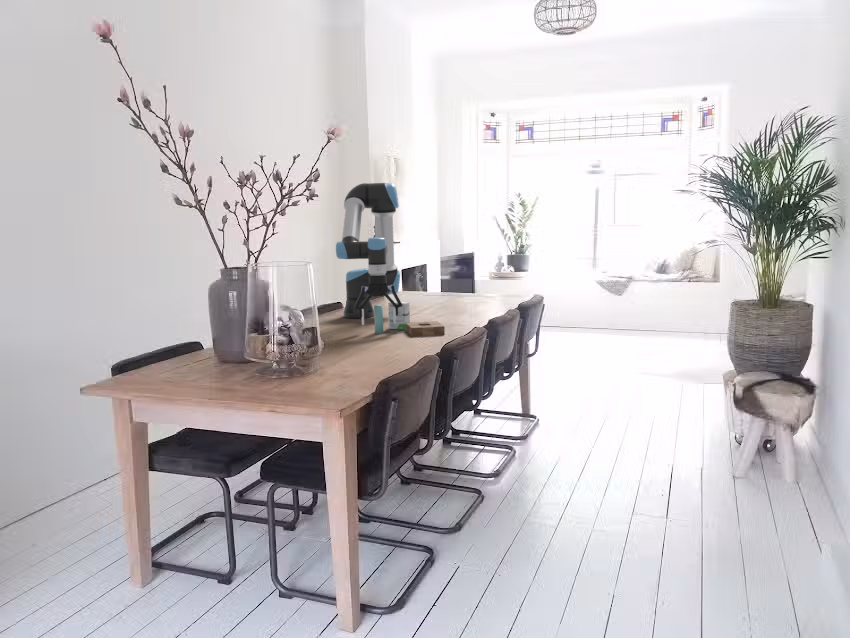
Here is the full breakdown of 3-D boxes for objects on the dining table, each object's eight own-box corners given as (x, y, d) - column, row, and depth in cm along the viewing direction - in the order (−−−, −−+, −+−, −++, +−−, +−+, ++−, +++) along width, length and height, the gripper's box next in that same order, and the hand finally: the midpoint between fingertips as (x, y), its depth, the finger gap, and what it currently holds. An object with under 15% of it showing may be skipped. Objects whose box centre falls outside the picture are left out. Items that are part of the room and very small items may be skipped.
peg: (374, 332, 304) (373, 304, 302) (382, 332, 304) (381, 304, 302) (375, 333, 300) (374, 306, 298) (383, 333, 301) (383, 305, 299)
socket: (405, 330, 307) (405, 322, 306) (437, 329, 309) (437, 321, 309) (411, 336, 293) (411, 328, 292) (444, 334, 296) (444, 326, 295)
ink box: (410, 328, 312) (410, 302, 310) (405, 330, 308) (404, 303, 306) (394, 327, 317) (393, 300, 315) (388, 328, 312) (387, 302, 310)
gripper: (348, 276, 292) (350, 326, 295) (408, 274, 297) (409, 323, 300) (347, 274, 299) (348, 323, 303) (404, 272, 304) (405, 321, 308)
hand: (378, 323), depth 302 cm, fingers open, 13 cm apart
